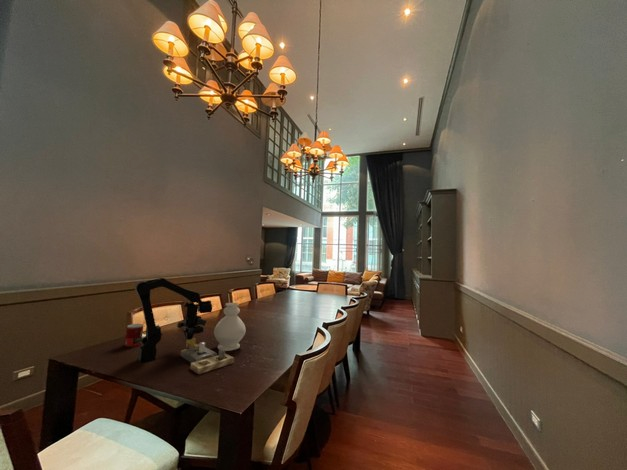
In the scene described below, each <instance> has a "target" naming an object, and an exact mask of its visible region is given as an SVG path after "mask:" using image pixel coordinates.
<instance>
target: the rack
mask: <svg viewBox="0 0 627 470" xmlns="http://www.w3.org/2000/svg"><path fill="white" fill-rule="evenodd" d="M234 360H235V357H233V355H232V356H231V355H229V354H228V353H226V351H225V350H219V349H218V354H217V356H214V357H211V358H207V359H204V360H200V361H197V362H194V363H191V362H190V370H191V371H193V372H195V374H198V375H201V374H204V373H208V372H209V371H213V370H216V369H219V368H222V367H226V366H229V365H231V364H233V363H234V362H235V361H234Z"/></svg>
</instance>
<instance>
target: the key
mask: <svg viewBox="0 0 627 470" xmlns="http://www.w3.org/2000/svg"><path fill="white" fill-rule="evenodd" d="M196 340H197V338H195V337H192V339H187V340H186V343H185V344H186V345H185V347H186V349H188V348H190V346H192V347H194V348H196V350H199V343H196Z"/></svg>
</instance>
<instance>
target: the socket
mask: <svg viewBox="0 0 627 470" xmlns="http://www.w3.org/2000/svg"><path fill="white" fill-rule="evenodd" d="M214 356H218V353H217V352H216V351H214V350H212V349H209V348H208V347H206V346H205V353H204V354H202V355H198V350H196V348H194V347H192V346H190V348H189V347H188V348H186V349H181V350H180V357H182V358H183V359H185V360H186V361H188V362H190V364H191V363H194V362H197V361H200V360H204V359H207V358H211V357H214Z"/></svg>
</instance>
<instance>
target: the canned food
mask: <svg viewBox="0 0 627 470" xmlns="http://www.w3.org/2000/svg"><path fill="white" fill-rule="evenodd" d="M143 331H144V323H143V324H142V323H131V324H127V326H126V334H125V340H124V341H125V342H124V345H125V347H126V348H135V347H138V346H139V347H140V346H142V345H141V343H140V341H141V340H142V339H143V333H144V332H143Z"/></svg>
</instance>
